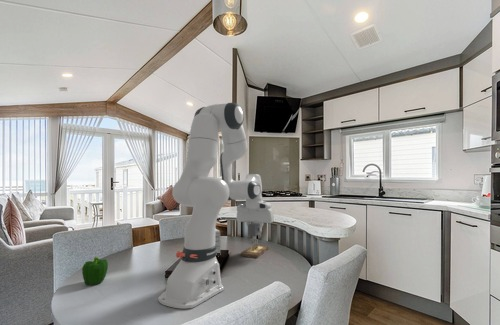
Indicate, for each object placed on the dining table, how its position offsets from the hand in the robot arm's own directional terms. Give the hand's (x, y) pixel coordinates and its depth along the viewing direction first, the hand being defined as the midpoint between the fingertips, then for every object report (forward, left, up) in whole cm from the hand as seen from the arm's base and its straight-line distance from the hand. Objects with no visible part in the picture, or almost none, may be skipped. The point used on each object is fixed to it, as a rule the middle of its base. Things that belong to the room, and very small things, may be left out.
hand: (255, 230), depth 126 cm
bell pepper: (-56, +43, -11) cm, 72 cm away
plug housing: (0, 0, -2) cm, 2 cm away
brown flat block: (0, 0, -11) cm, 11 cm away
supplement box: (-12, +19, -11) cm, 25 cm away
